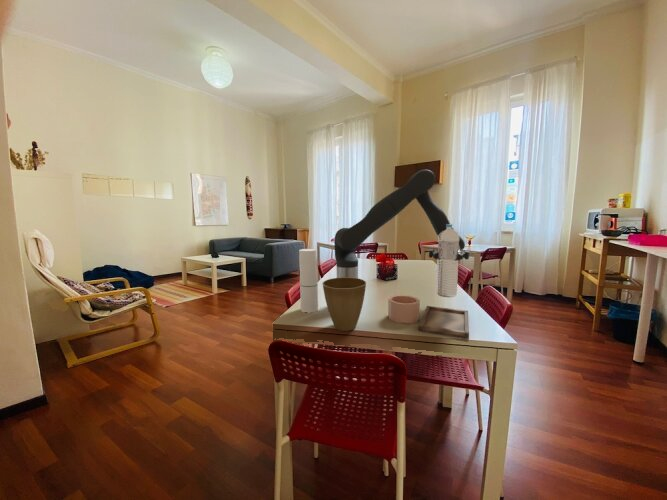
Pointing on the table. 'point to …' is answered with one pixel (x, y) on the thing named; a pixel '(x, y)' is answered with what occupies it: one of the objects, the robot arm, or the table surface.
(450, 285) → the water bottle
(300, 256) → the cylindrical container
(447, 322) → the tray
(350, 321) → the plant pot
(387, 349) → the table surface
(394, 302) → the holder cup
